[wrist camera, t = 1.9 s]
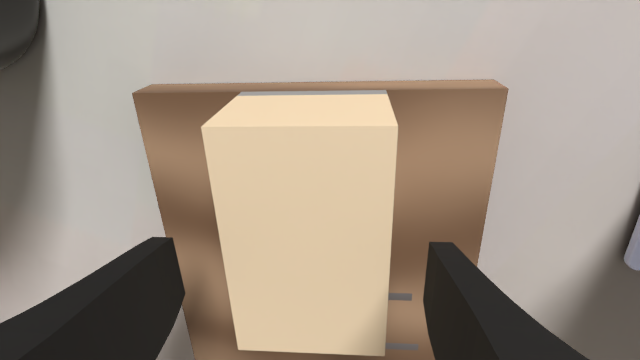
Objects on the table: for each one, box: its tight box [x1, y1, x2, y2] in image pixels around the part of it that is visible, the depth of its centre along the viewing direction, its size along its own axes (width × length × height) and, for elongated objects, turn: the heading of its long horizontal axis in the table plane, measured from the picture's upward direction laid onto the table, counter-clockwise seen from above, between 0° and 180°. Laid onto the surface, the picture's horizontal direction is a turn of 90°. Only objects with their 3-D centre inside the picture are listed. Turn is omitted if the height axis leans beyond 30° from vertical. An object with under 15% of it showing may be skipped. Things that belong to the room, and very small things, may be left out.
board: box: [132, 80, 508, 360], centre depth 19 cm, size 24×13×2 cm, turn 2°
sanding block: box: [201, 90, 398, 356], centre depth 13 cm, size 5×8×4 cm, turn 1°
